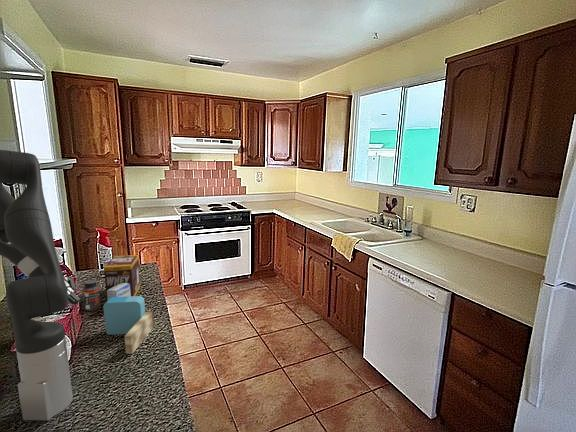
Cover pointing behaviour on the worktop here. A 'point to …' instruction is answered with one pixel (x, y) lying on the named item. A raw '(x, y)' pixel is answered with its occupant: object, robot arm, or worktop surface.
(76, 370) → the worktop surface
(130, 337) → the birch board
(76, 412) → the worktop surface
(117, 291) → the medicine box
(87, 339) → the worktop surface
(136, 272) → the supplement box
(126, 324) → the blue rounded block
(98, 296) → the supplement bottle
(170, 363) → the worktop surface
